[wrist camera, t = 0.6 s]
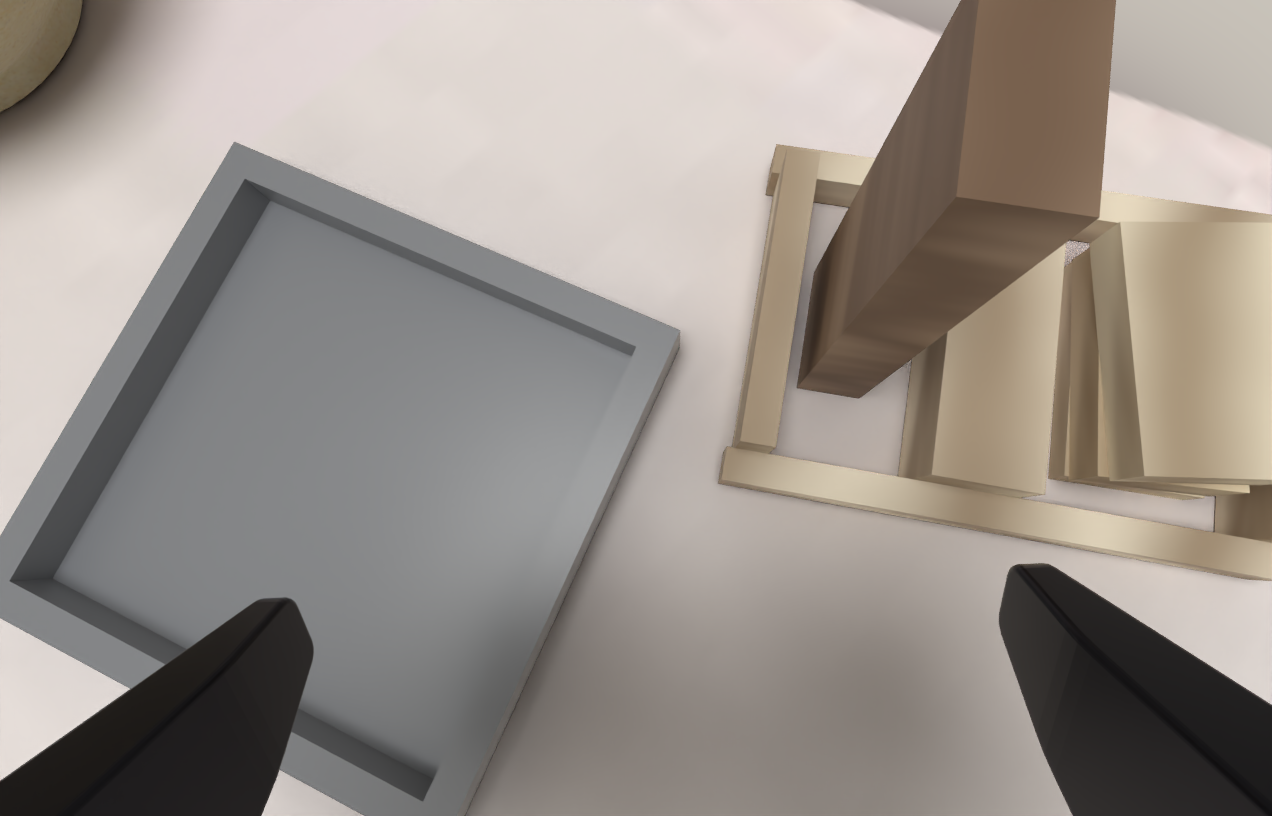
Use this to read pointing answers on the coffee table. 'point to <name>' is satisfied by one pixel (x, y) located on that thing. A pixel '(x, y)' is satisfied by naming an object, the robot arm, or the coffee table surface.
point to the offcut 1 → (1062, 403)
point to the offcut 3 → (1186, 350)
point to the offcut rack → (967, 400)
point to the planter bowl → (33, 43)
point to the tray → (340, 473)
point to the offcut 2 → (1101, 399)
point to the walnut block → (965, 186)
